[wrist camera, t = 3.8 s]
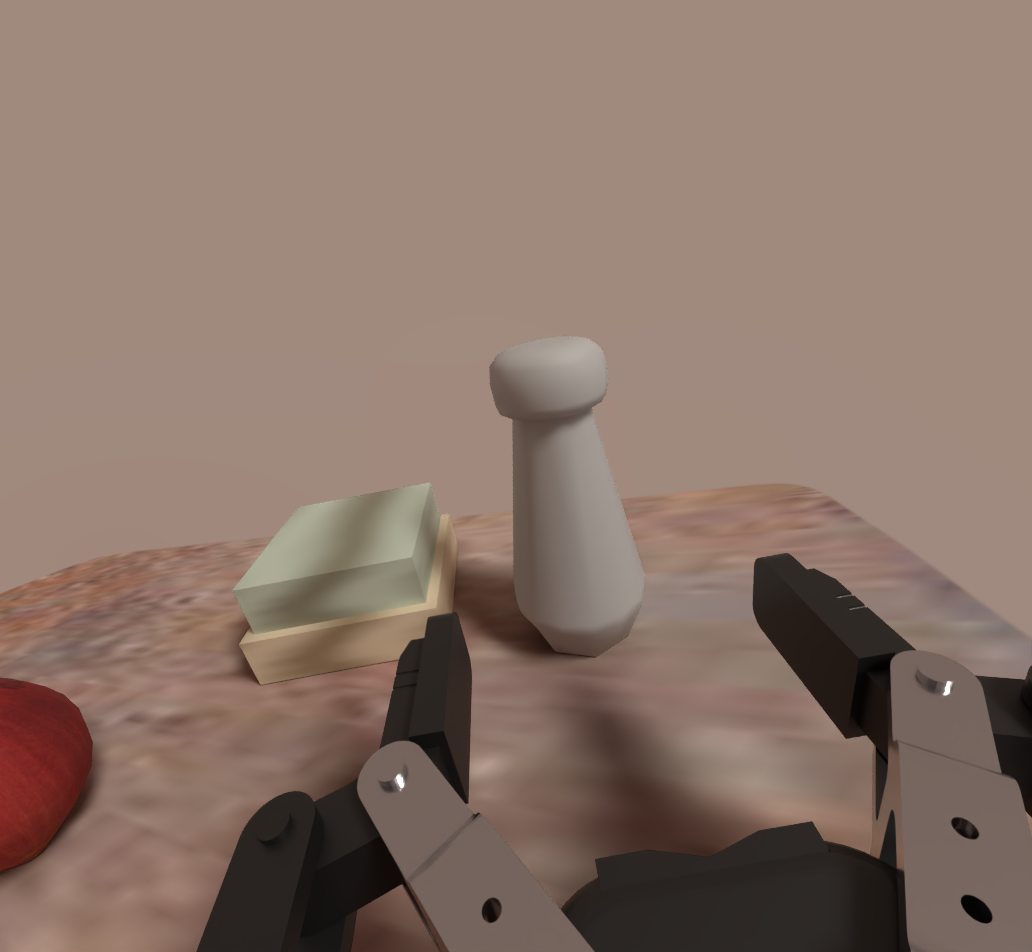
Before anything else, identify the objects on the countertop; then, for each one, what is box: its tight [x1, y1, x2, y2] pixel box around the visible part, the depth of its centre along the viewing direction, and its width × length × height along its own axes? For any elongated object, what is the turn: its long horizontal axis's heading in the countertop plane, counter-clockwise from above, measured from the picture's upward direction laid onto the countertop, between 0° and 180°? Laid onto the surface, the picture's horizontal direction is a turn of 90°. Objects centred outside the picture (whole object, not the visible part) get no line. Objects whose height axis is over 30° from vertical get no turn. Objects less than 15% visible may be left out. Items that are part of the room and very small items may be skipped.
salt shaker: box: [490, 336, 645, 657], centre depth 20 cm, size 6×6×13 cm
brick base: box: [232, 483, 458, 685], centre depth 25 cm, size 9×9×5 cm
